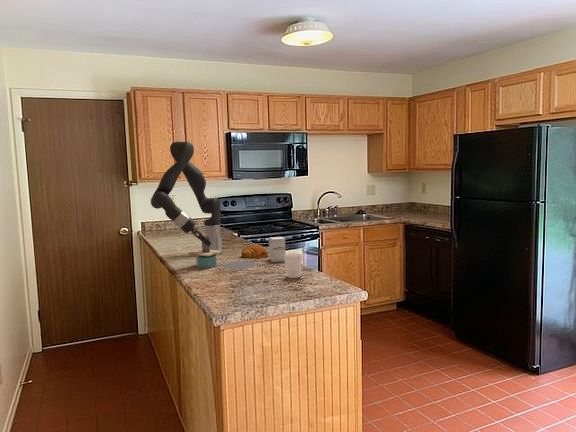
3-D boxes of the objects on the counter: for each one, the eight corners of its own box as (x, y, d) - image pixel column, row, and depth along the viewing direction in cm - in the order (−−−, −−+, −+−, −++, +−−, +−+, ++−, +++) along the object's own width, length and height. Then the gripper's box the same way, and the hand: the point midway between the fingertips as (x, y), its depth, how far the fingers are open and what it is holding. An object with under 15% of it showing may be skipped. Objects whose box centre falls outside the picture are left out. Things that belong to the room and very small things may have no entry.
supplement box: (272, 263, 235) (271, 239, 234) (269, 260, 243) (268, 237, 241) (285, 261, 237) (285, 238, 236) (282, 259, 244) (281, 236, 243)
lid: (204, 250, 239) (203, 234, 238) (223, 251, 233) (223, 235, 232) (187, 254, 228) (187, 237, 227) (207, 256, 221) (206, 238, 221)
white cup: (292, 273, 210) (291, 252, 209) (305, 275, 205) (305, 254, 204) (281, 276, 204) (280, 255, 203) (295, 279, 199) (294, 257, 198)
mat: (236, 261, 241) (236, 260, 241) (261, 264, 233) (261, 263, 233) (217, 267, 228) (217, 266, 227) (243, 270, 220) (243, 269, 219)
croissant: (237, 261, 255) (235, 247, 253) (259, 253, 264) (257, 240, 263) (252, 264, 244) (249, 249, 242) (274, 256, 253) (272, 242, 252)
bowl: (205, 263, 238) (205, 253, 237) (220, 265, 233) (220, 254, 232) (192, 267, 229) (192, 257, 229) (208, 269, 224) (207, 258, 224)
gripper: (190, 218, 220) (216, 240, 224) (188, 215, 233) (213, 237, 238) (179, 229, 219) (205, 252, 223) (178, 226, 232) (203, 247, 237)
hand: (209, 244), depth 230 cm, fingers closed on lid, 3 cm apart
